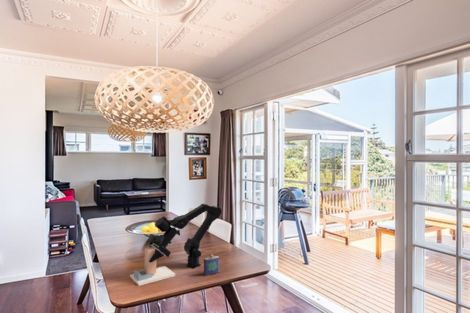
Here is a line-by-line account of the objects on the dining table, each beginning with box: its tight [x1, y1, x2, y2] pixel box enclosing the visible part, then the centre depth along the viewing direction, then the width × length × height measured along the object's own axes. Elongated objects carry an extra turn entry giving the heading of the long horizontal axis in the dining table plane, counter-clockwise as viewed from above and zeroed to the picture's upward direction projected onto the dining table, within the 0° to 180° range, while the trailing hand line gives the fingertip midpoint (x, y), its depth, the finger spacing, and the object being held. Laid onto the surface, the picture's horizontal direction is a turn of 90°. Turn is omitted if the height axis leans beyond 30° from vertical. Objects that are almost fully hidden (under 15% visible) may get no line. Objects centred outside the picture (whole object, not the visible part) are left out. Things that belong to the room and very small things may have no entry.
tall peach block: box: [143, 247, 157, 274], centre depth 157 cm, size 5×4×13 cm
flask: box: [203, 254, 220, 277], centre depth 162 cm, size 9×3×11 cm, turn 122°
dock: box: [129, 265, 176, 286], centre depth 158 cm, size 20×13×4 cm, turn 128°
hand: (148, 261), depth 156 cm, fingers closed on tall peach block, 4 cm apart
